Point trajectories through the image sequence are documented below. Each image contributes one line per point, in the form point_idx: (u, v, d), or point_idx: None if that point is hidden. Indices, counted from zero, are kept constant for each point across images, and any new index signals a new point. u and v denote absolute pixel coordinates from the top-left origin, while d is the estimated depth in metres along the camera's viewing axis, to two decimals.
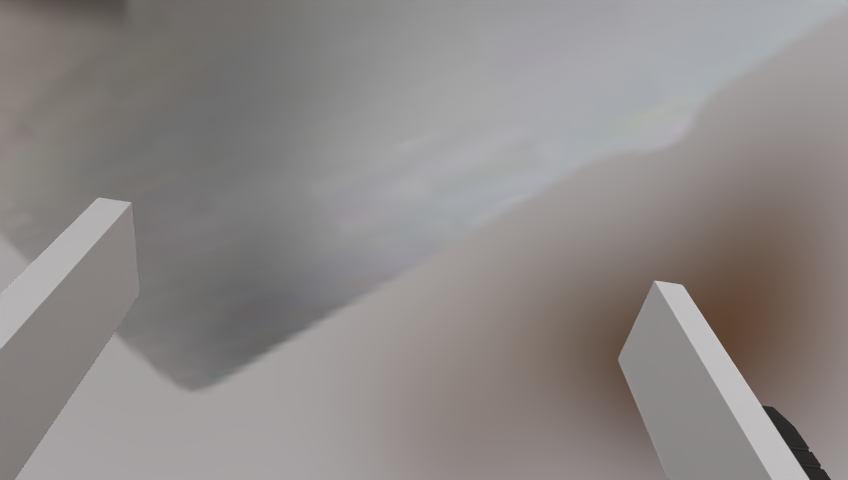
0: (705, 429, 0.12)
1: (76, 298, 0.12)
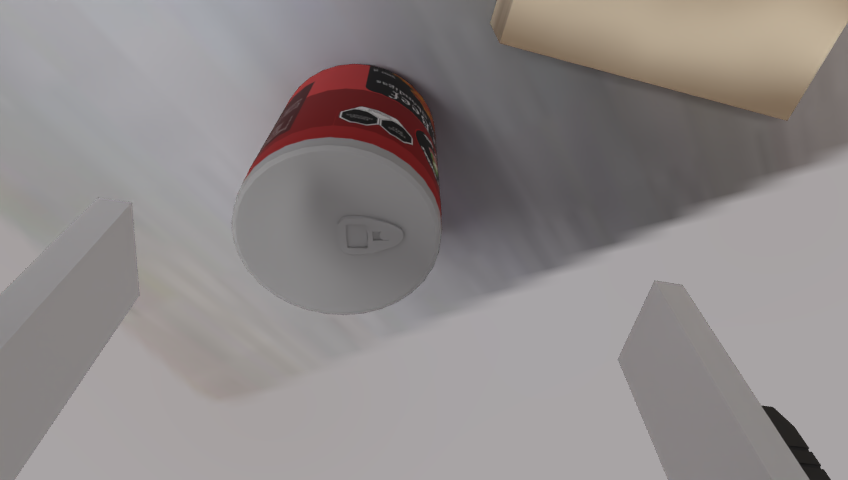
0: (705, 429, 0.12)
1: (76, 298, 0.12)
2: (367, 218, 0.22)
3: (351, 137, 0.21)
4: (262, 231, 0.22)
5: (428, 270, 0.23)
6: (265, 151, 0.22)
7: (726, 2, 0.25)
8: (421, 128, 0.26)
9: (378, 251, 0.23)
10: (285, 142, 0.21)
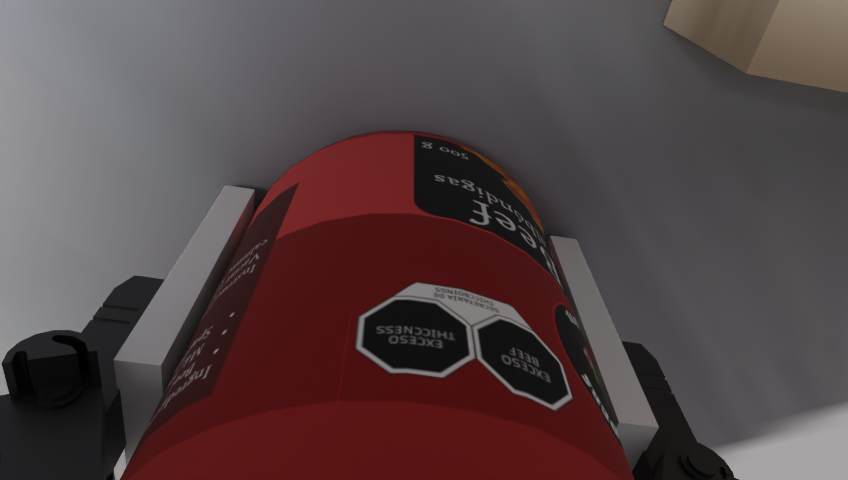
0: None
1: (224, 272, 0.13)
2: None
3: None
4: None
5: None
6: (136, 478, 0.07)
7: None
8: (555, 295, 0.11)
9: None
10: (183, 478, 0.06)
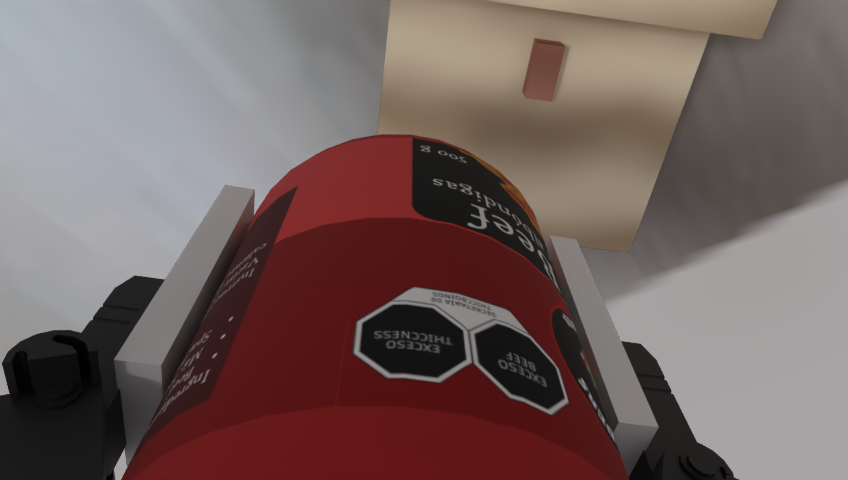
0: None
1: (224, 272, 0.13)
2: None
3: None
4: None
5: None
6: None
7: (548, 173, 0.29)
8: (553, 299, 0.11)
9: None
10: None
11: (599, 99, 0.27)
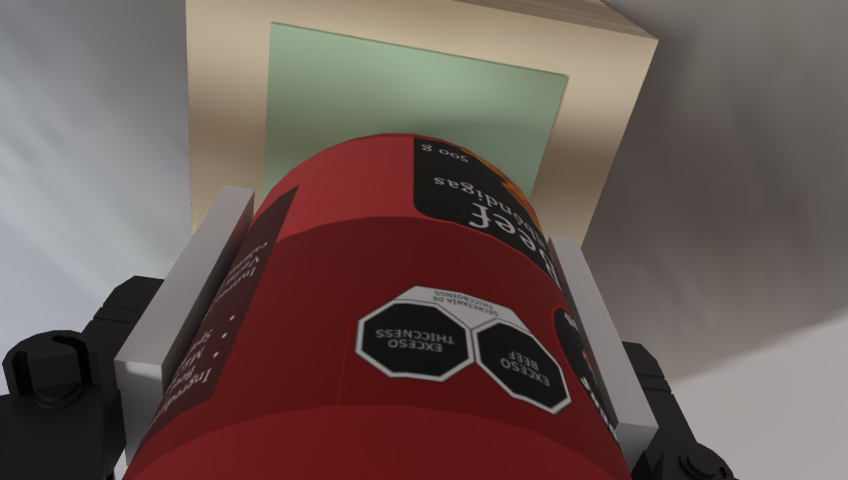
0: None
1: (224, 272, 0.13)
2: None
3: None
4: None
5: None
6: None
7: None
8: (555, 298, 0.11)
9: None
10: None
11: None
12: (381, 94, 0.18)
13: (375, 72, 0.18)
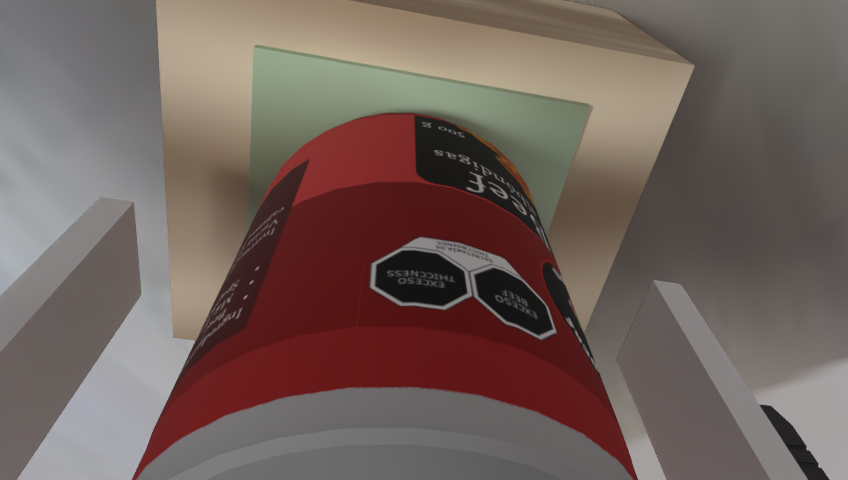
0: (703, 428, 0.12)
1: (78, 297, 0.12)
2: None
3: (414, 383, 0.07)
4: None
5: None
6: (183, 398, 0.08)
7: None
8: (544, 254, 0.12)
9: None
10: (228, 390, 0.08)
11: None
12: None
13: (373, 101, 0.16)
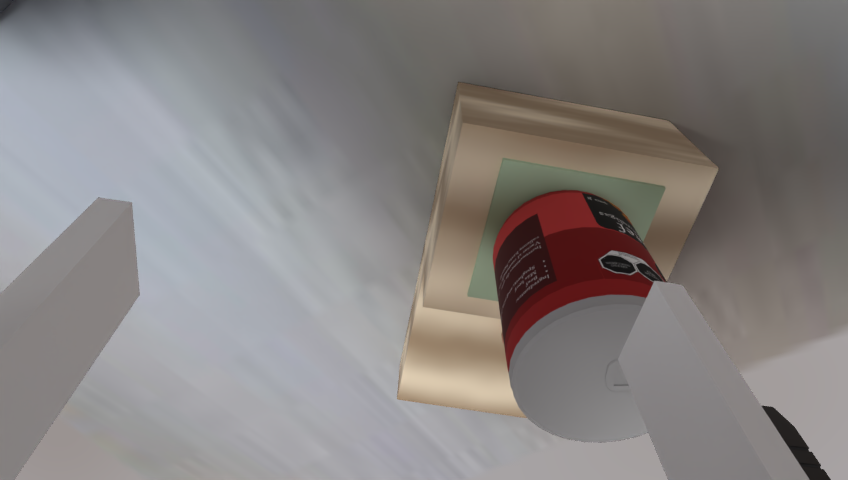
0: (705, 429, 0.12)
1: (76, 298, 0.12)
2: None
3: (630, 294, 0.23)
4: (537, 374, 0.25)
5: None
6: (539, 303, 0.24)
7: None
8: None
9: None
10: (564, 297, 0.24)
11: None
12: None
13: (557, 184, 0.32)
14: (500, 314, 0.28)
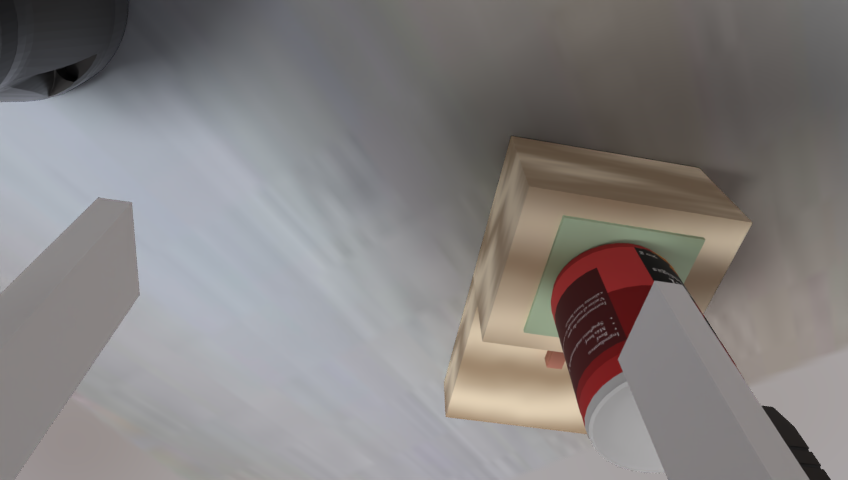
0: (705, 429, 0.12)
1: (76, 298, 0.12)
2: None
3: None
4: (610, 419, 0.29)
5: None
6: (613, 359, 0.28)
7: (556, 396, 0.49)
8: (702, 313, 0.32)
9: None
10: None
11: None
12: None
13: (610, 238, 0.36)
14: (568, 359, 0.33)
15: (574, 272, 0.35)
